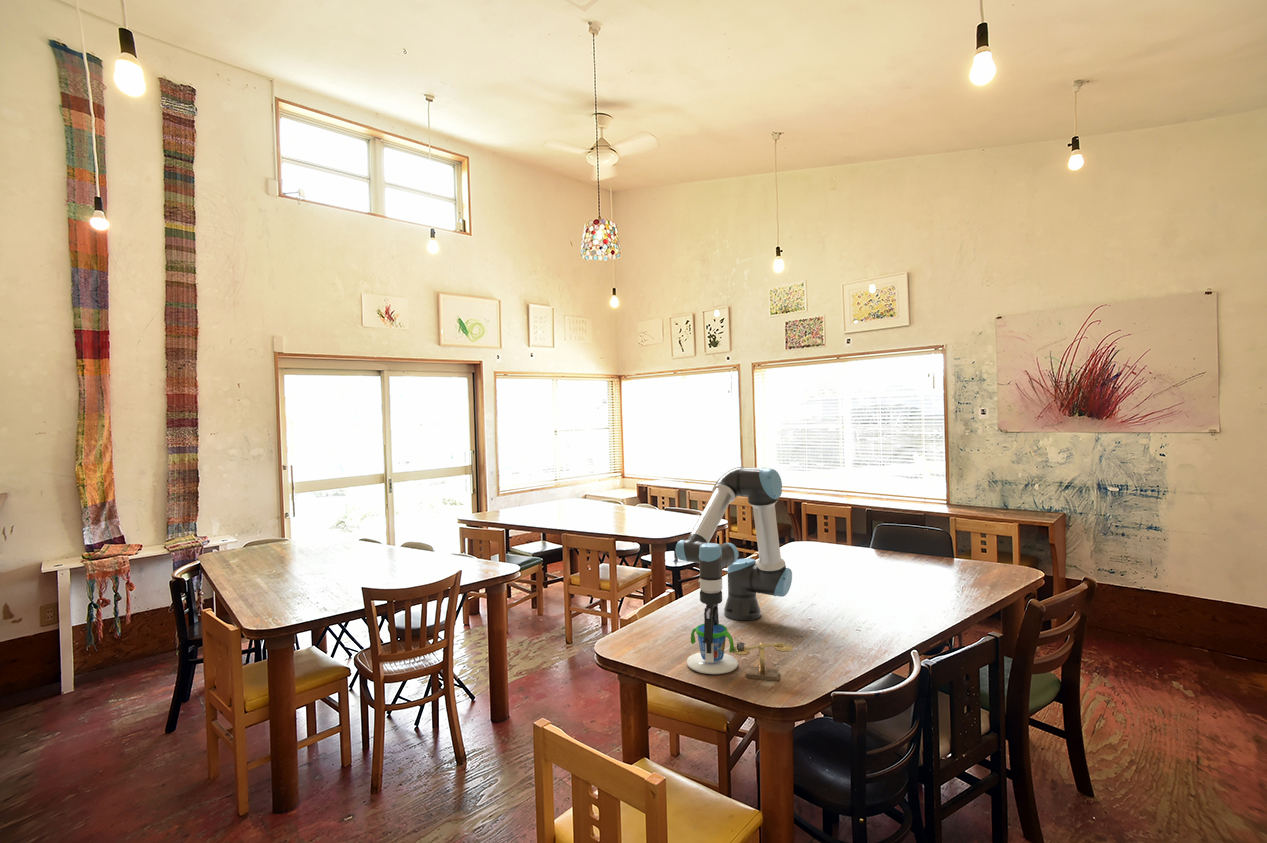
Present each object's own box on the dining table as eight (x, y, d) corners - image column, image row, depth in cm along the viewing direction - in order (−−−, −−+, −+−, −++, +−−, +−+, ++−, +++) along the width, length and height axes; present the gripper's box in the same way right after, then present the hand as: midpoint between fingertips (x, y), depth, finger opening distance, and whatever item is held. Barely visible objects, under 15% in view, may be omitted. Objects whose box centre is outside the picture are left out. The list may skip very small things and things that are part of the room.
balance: (733, 668, 201) (732, 634, 201) (793, 674, 196) (793, 640, 196) (730, 675, 196) (730, 641, 196) (793, 682, 190) (792, 647, 190)
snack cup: (684, 656, 206) (683, 627, 206) (702, 647, 214) (702, 618, 214) (722, 669, 195) (721, 637, 195) (740, 659, 203) (739, 629, 203)
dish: (692, 652, 215) (692, 649, 215) (740, 657, 210) (740, 654, 210) (682, 672, 199) (682, 668, 199) (734, 678, 194) (734, 674, 194)
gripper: (705, 580, 216) (706, 643, 216) (693, 599, 195) (694, 668, 195) (726, 581, 214) (727, 644, 214) (716, 600, 193) (718, 670, 193)
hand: (712, 656), depth 204 cm, fingers closed on snack cup, 9 cm apart
